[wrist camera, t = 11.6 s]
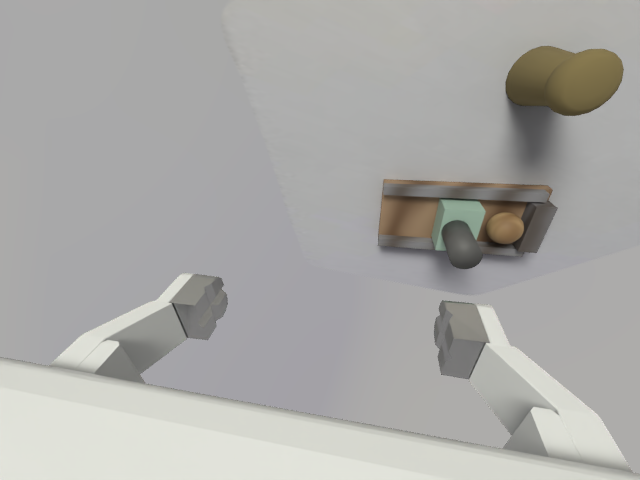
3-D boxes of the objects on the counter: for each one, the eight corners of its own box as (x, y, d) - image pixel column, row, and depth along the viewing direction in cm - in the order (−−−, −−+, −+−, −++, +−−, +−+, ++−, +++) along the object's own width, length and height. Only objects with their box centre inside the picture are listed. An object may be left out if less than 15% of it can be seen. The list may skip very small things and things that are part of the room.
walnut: (521, 207, 39) (535, 222, 36) (510, 234, 42) (522, 251, 38) (487, 205, 40) (497, 220, 37) (478, 232, 43) (487, 248, 39)
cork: (569, 90, 33) (640, 103, 24) (510, 115, 35) (554, 135, 26) (564, 33, 30) (641, 24, 21) (500, 64, 33) (546, 67, 24)
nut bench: (547, 185, 39) (562, 197, 35) (521, 246, 44) (532, 261, 41) (383, 179, 42) (383, 189, 39) (378, 235, 48) (377, 249, 45)
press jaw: (477, 198, 40) (501, 235, 32) (465, 238, 43) (484, 280, 35) (439, 196, 41) (454, 232, 32) (431, 235, 44) (442, 276, 36)
